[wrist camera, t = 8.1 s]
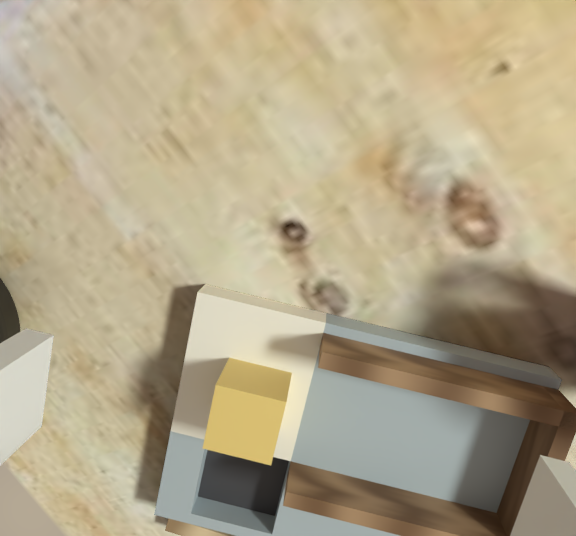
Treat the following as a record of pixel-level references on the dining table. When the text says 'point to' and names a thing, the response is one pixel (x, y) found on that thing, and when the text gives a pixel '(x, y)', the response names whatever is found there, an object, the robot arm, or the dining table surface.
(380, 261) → the dining table surface
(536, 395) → the cubby
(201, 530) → the crook tool
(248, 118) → the dining table surface
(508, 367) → the board
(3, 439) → the robot arm
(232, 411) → the block
